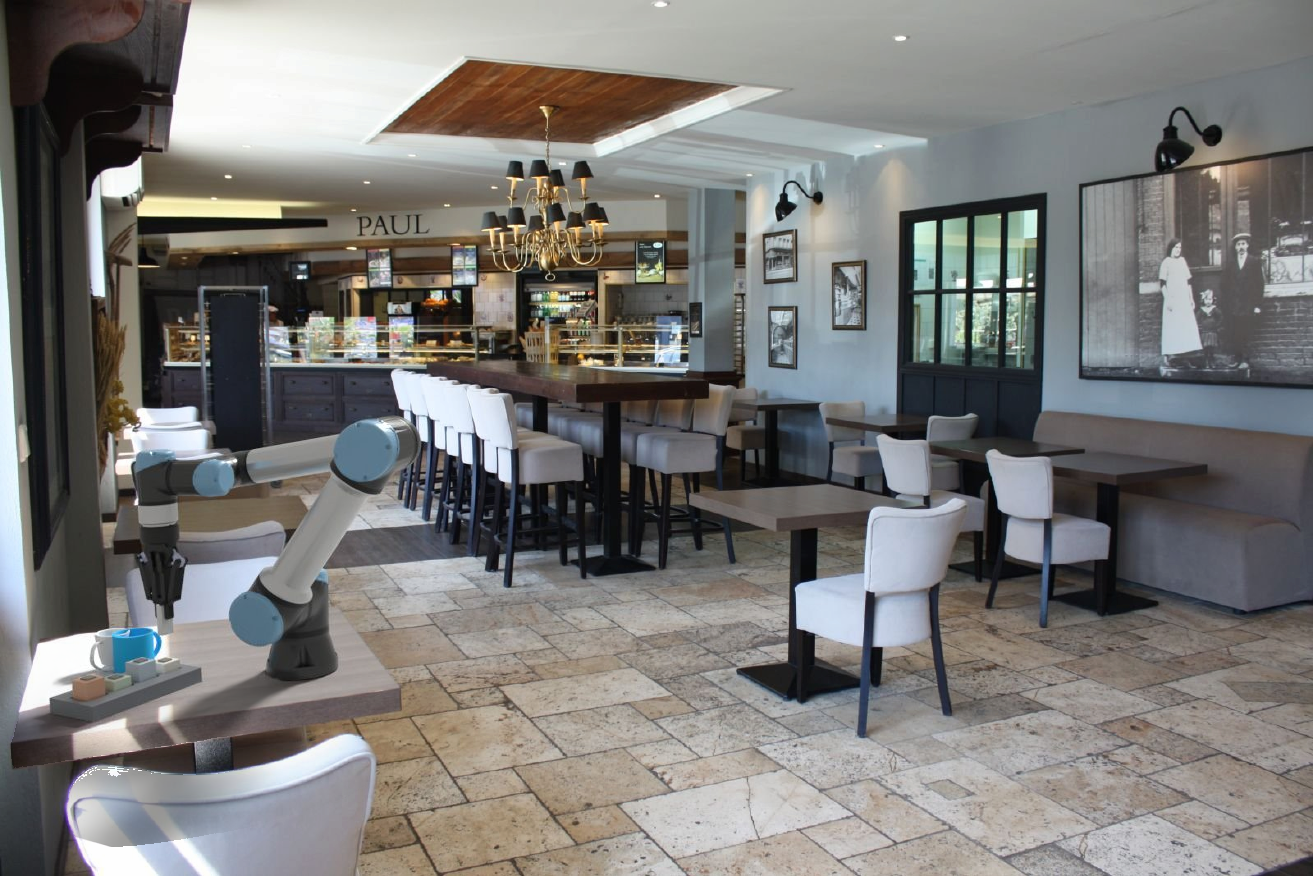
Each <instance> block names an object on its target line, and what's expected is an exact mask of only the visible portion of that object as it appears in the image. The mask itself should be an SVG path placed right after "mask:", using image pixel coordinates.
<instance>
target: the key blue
mask: <svg viewBox="0 0 1313 876" xmlns="http://www.w3.org/2000/svg"><path fill="white" fill-rule="evenodd" d="M154 659H155V658H154ZM154 659H149V658H143V657H141V658H138V659H135V660H132V661H129V662H126V663H125V668H126V675H129V676H131V681H133V682H138V683H141V682H144V681H147V680H150V679H152V678H155V677H156V660H157V659H155V660H154Z"/></svg>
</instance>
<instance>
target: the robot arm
mask: <svg viewBox="0 0 1313 876" xmlns="http://www.w3.org/2000/svg"><path fill="white" fill-rule="evenodd" d="M421 447H422V438H421V434H420V432H419V431H418V428H417V427H416V426H415V425H414V424H413V422H411V421H410V420H408V419H407V418H404V417H402V416H400V415H386V416H382V417H376V418H365V419H361V420H358V421H356V422H354V423H352V424H350V425H348V426H347V427H345V428H344V429H343V430H342V431H341V432H340V433H338V434H331V435H329V436H327V435H326V436H321V437H316V438H310V439H309V438H308V439H306V440H304V439H303V440H300V441H299V440H298V441H294V442H287V443H281V444H277V445H271V446H265V447H260V448H255V449H249V450H239V451H236V452H235V451H234V452H231V453H227V454H222V455H216V456H211V457H207V458H206V457H205V458H202V459H177V458H176V453H175V451H174V450H173V449H168V448H167V449H165V448H163V449H162V448H159V449H148V450H147V449H145V450H141V451H139V452H137V454H136V455H135V472H134V473H135V481H136V488H137V491H136V492H137V513H138V514H137V515H138V517H137V518H138V523H139V525H140V524H141V525H140V526H139V541H140V544H142V545H143V549H142V552H141V553H140V554H137V555H135V556H134V560H135V562H136V564H137V565H138V569H139V574H140V577H141V582H142V586H143V591H144V594H145V595H144V596H145V599H146V600H147V601H151V602H152V603H153V604H154V615H155V619H156V625H157V626H156V627H157V633H158V635H160V637H161V636H162V637H163V636H167V635H169V634H173V633H174V618H175V611H174V609H175V608H174V604H175V602H178V601H181V600H182V594H183V587H184V586H183V585H184V579H185V578H184V577H185V571H186V570H185V569H186V566H187V564H188V562H189V558H188V557H187V556H184V557H183V556H181V554H179V548H178V546H177V543H178V542H179V541H180V537H181V536H180V524H179V523H178V522H177V521H178V520H179V508H178V507H179V505H178V504H179V503H178V497H180V496H181V497H206V498H212V497H223V496H226V495H227V494H229V492H230V490H232V489H235V488H239V487H245V486H252V485H256V484H257V485H258V484H261V483H268V482H275V481H280V480H286V479H293V478H298V477H304V476H309V475H316V474H322V473H327V472H330V477H329V478H328V480H327V481H326V483H325V484H324V486H323V488H322V489H321V490H320V492H319V494H318V496H317V497H316V498H315V500H314V502H313V503H312V504H311V507H310V508H309V509H308V510H307V512H306V514H305V516H304V517H303V518H302V520H301V521H300V523H299V525H298V527H297V528H296V530H295V531H294V532H293V534H292V536H291V537H290V539H289V541H288V542H287V543H286V545H285V547H284V548H283V550H282V551H281V553H280V555H279V556H278V557H277V559H276V560H275V562H274V564H273V565H271V566H266V567H264V568H262V569H261V570H260V571H259V573H258V575H257V576H256V578H255V580H253V582H252V584H251V585H250V587H249V588H248V590H247V591H244V592H241V593H240V594H238V596H236V597H235V598H234V599H233V601H232V602H231V604H230V607H229V610H228V620H229V622H230V625H231V626H230V627H231V629H232V630H231V631H232V632H233V633H234V635H235V636H236V637H237V638H238V639H239V640H240V641H242V642H243V643H245V644H247V645H249V646H250V647H251V646H253V647H257V648H258V647H259V648H261V647H266V646H268V645H271V646H270V649H269V655H268V658H267V660H266V662H265V663H266V664H265V667H266V668H265V670H266V673H265V674H266V675H267V676H269V677H270V678H274V679H276V680H277V679H278V680H284V681H285V680H286V681H287V680H288V681H299V680H308V679H314V678H319V677H323V676H325V675H326V676H327V675H328V674H331V673H333V672H335V671H336V670H338V668H339V654H338V653H337V652H336V650H335V646H334V643H333V639H332V637H331V634H330V604H329V601H330V600H329V599H330V598H329V592H330V591H329V585H330V582H329V581H328V580H329V578H328V577H329V576H328V571H327V570H326V569H325V568H324V566H325V565H326V564H327V562H328V560H329V559H330V557H331V556H332V554H333V553H334V551H335V550H336V549H337V547H338V546H339V544H340V542H341V541H342V539H343V538H344V536H345V535H346V533H347V532H348V530H349V528H350V527H351V525H352V524H353V522H354V520H355V519H356V518H357V516H358V515H359V513H360V511H361V510H362V509H363V507H364V505H365V504H366V502H367V501H368V499H369V498H372V497H378V496H379V495H380V494H381V493H382V492H383V490H384V489H385V487H386V486H387V484H388V483H389V481H390V480H391V478H392V477H393V476H394V474H395V473H396V472H399V471H401V470H405V469H407V468H408V467H410V466H411V465H412V464H413V463H414V462H415V461H416V460H417V458H418V457H419V455H420V452H421Z"/></svg>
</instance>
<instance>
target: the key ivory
mask: <svg viewBox="0 0 1313 876" xmlns="http://www.w3.org/2000/svg"><path fill="white" fill-rule="evenodd" d="M155 660H156V673H160V674H166V673H169V672H172V671H175V670H178V669H180V664H181V661H180V658H176V657H175V658H174V657H169V656H163V657H162V658H158V659H155Z"/></svg>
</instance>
